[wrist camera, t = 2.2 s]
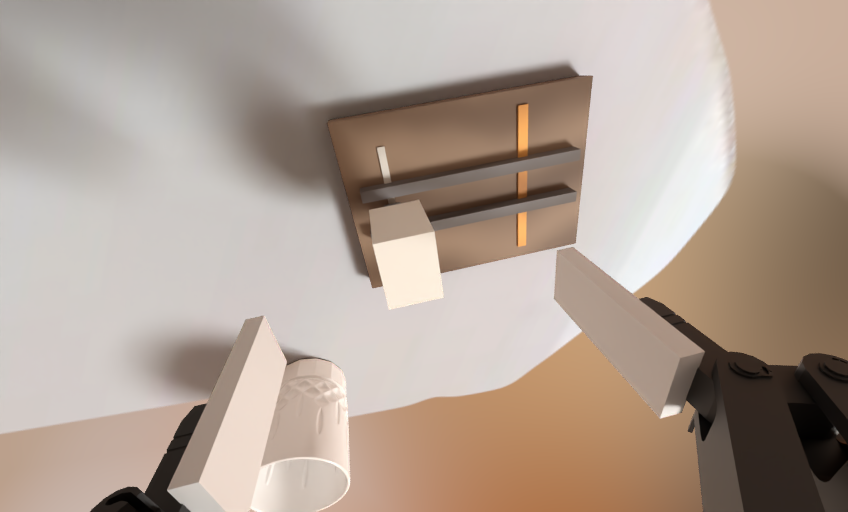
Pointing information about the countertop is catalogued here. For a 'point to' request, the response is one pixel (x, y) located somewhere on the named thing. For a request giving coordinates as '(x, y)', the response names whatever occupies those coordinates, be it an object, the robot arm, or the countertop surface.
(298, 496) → the white cup
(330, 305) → the countertop surface
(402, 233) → the block
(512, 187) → the board
